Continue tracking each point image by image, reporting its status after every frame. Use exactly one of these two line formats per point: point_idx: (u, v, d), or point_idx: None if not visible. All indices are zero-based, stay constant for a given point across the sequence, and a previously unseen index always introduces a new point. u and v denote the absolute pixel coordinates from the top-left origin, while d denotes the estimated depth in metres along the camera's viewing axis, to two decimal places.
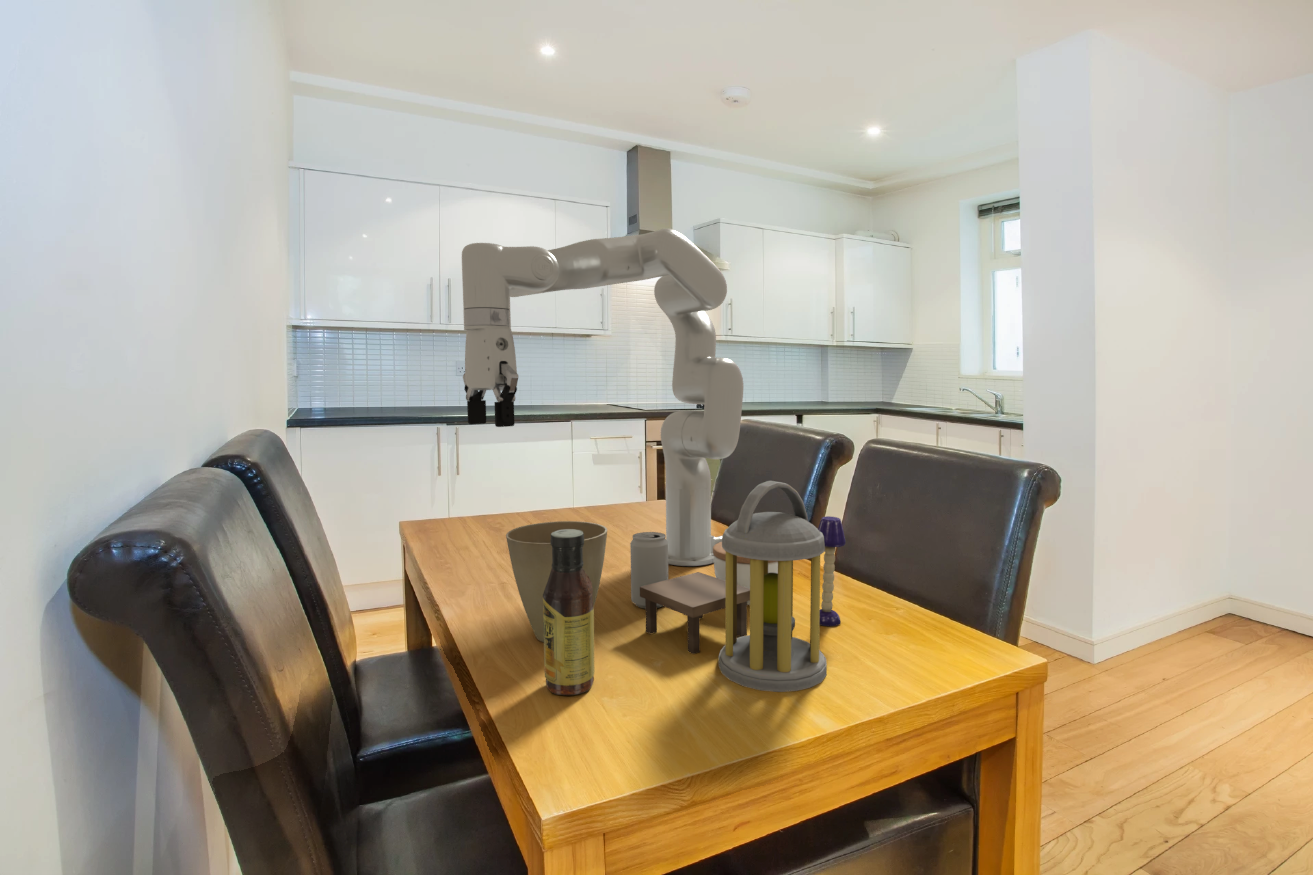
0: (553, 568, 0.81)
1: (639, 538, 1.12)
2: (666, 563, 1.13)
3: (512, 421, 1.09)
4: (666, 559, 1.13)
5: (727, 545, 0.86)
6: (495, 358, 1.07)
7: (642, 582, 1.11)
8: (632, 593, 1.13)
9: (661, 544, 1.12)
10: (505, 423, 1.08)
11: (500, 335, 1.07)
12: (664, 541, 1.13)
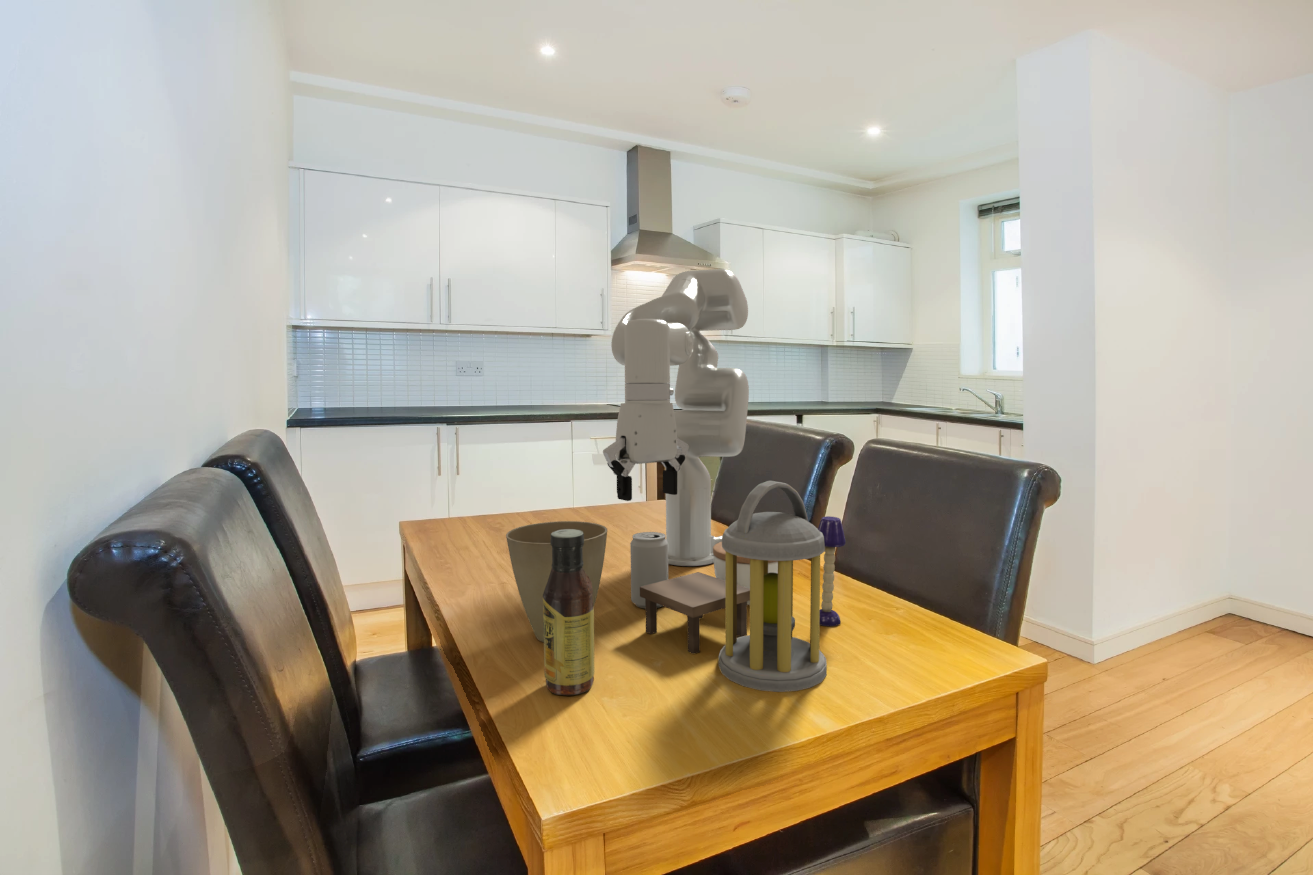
0: (553, 568, 0.81)
1: (639, 538, 1.12)
2: (666, 563, 1.13)
3: None
4: (666, 559, 1.13)
5: (727, 545, 0.86)
6: None
7: (642, 582, 1.11)
8: (632, 593, 1.13)
9: (661, 544, 1.12)
10: None
11: None
12: (664, 541, 1.13)
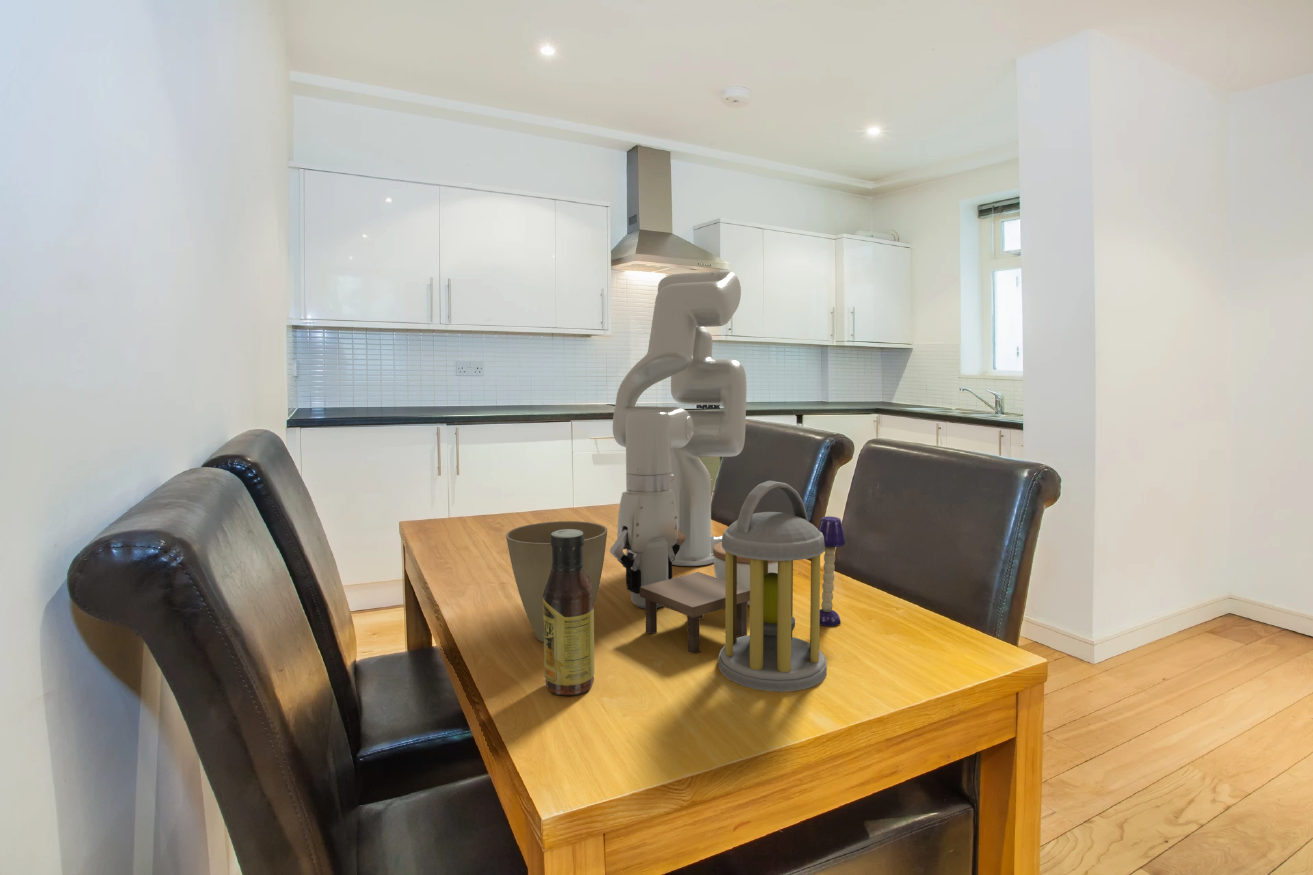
0: (553, 568, 0.81)
1: None
2: (666, 563, 1.13)
3: None
4: (666, 559, 1.13)
5: (727, 545, 0.86)
6: None
7: (642, 582, 1.11)
8: (632, 593, 1.13)
9: (661, 544, 1.12)
10: None
11: None
12: (664, 541, 1.13)
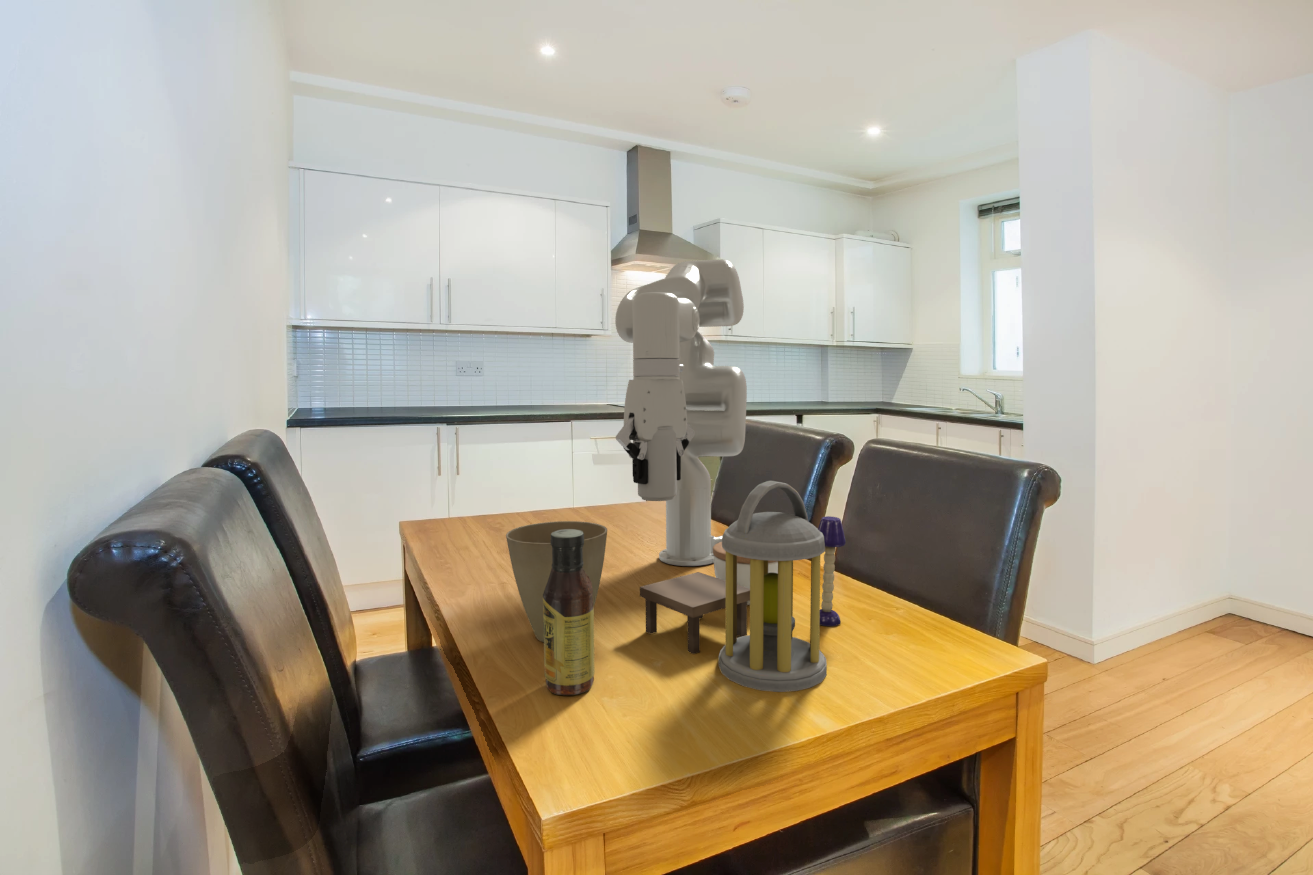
0: (553, 568, 0.81)
1: None
2: (674, 454, 1.08)
3: None
4: (674, 450, 1.08)
5: (727, 545, 0.86)
6: None
7: (649, 472, 1.07)
8: (639, 486, 1.09)
9: (669, 433, 1.07)
10: None
11: None
12: (672, 431, 1.08)
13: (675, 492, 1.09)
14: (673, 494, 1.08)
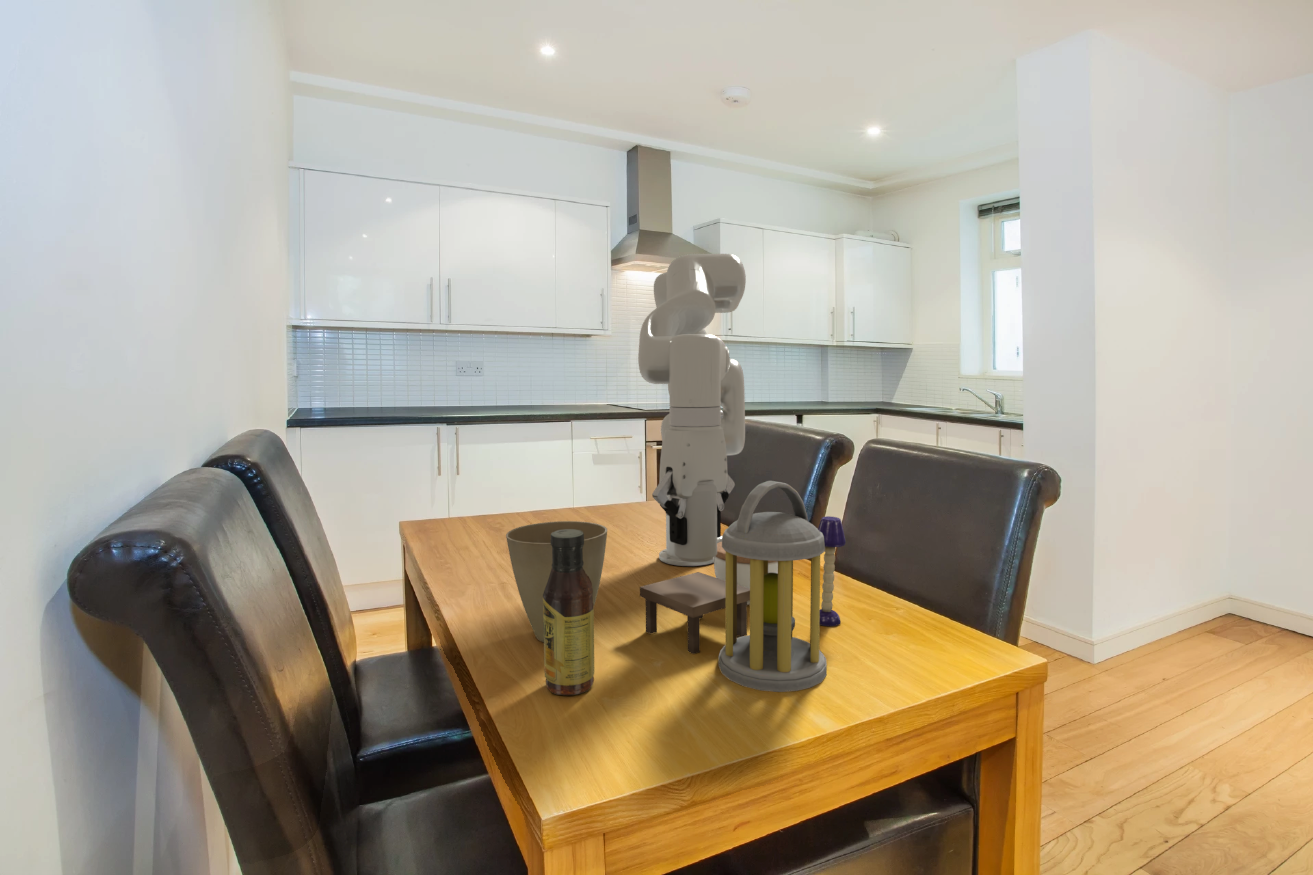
0: (553, 568, 0.81)
1: None
2: (715, 511, 0.98)
3: None
4: (715, 506, 0.98)
5: (727, 545, 0.86)
6: None
7: (689, 532, 0.97)
8: (676, 545, 0.99)
9: (710, 488, 0.97)
10: None
11: None
12: (713, 485, 0.98)
13: (716, 552, 0.99)
14: (714, 554, 0.99)
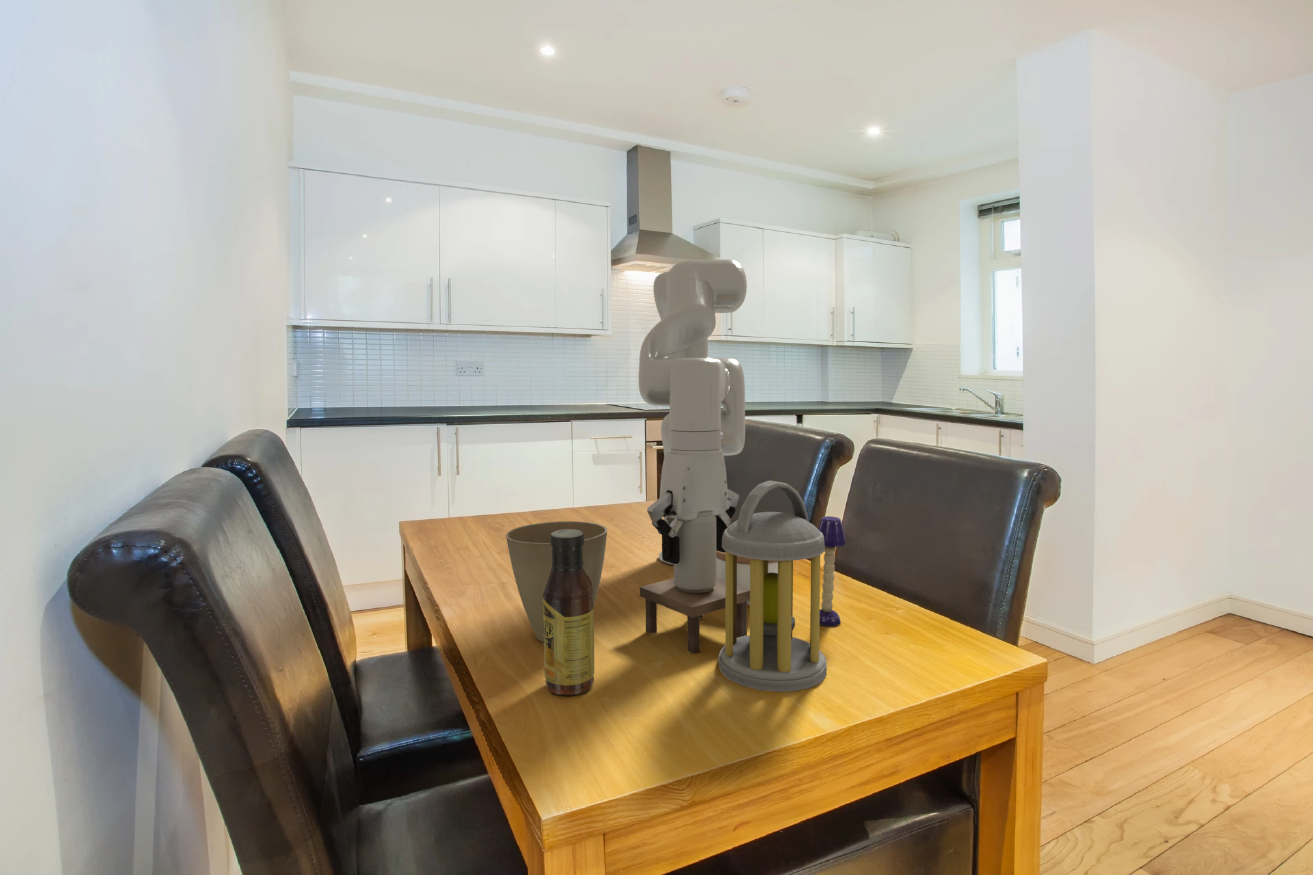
0: (553, 568, 0.81)
1: None
2: (715, 541, 0.99)
3: None
4: (715, 536, 0.99)
5: (727, 545, 0.86)
6: None
7: (689, 562, 0.97)
8: (676, 575, 0.99)
9: (710, 519, 0.98)
10: None
11: None
12: (712, 516, 0.99)
13: (715, 581, 1.00)
14: (714, 584, 0.99)
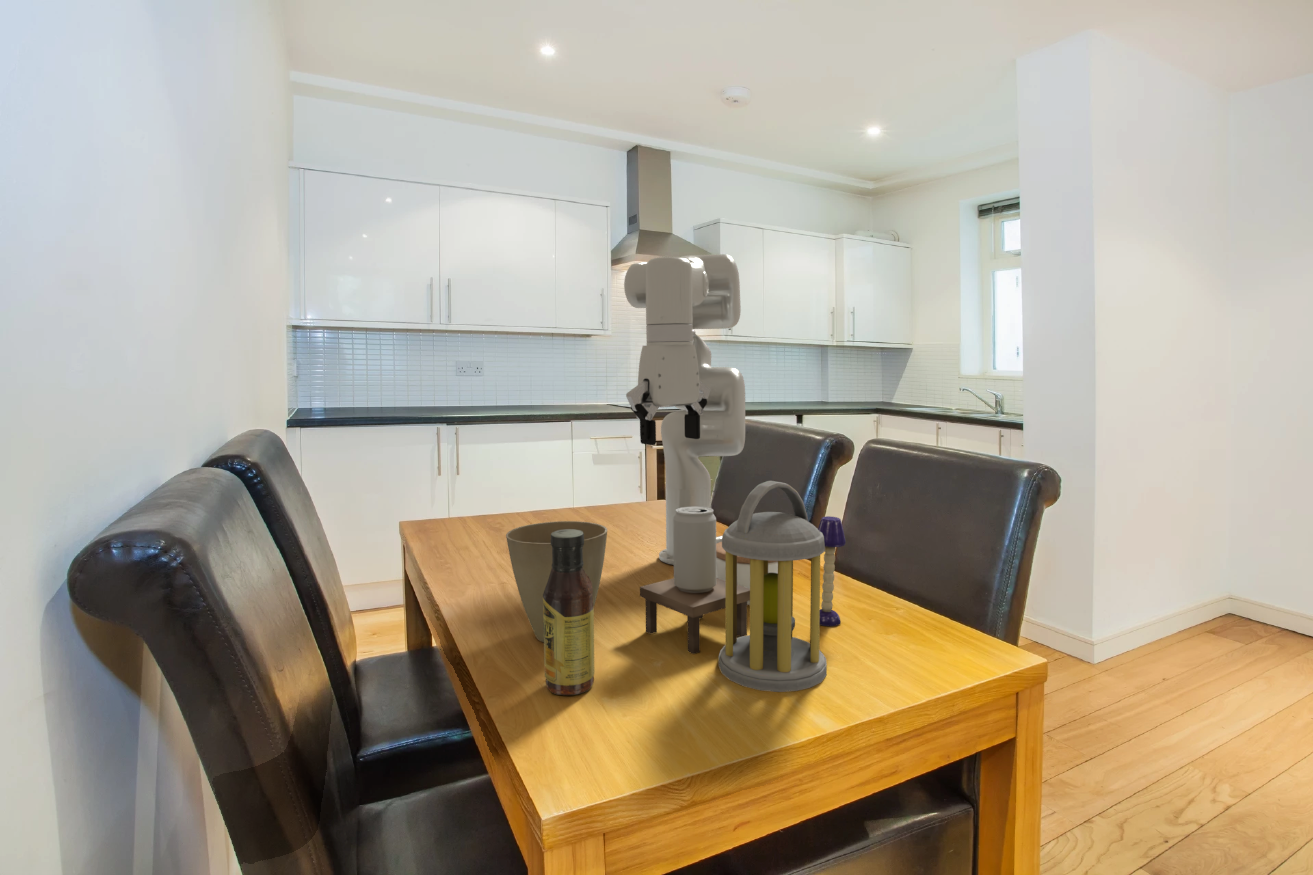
0: (553, 568, 0.81)
1: (684, 512, 0.98)
2: (715, 541, 0.99)
3: None
4: (715, 536, 0.99)
5: (727, 545, 0.86)
6: None
7: (688, 563, 0.97)
8: (676, 576, 0.99)
9: (710, 519, 0.98)
10: None
11: None
12: (712, 516, 0.99)
13: (715, 581, 1.00)
14: (714, 584, 0.99)
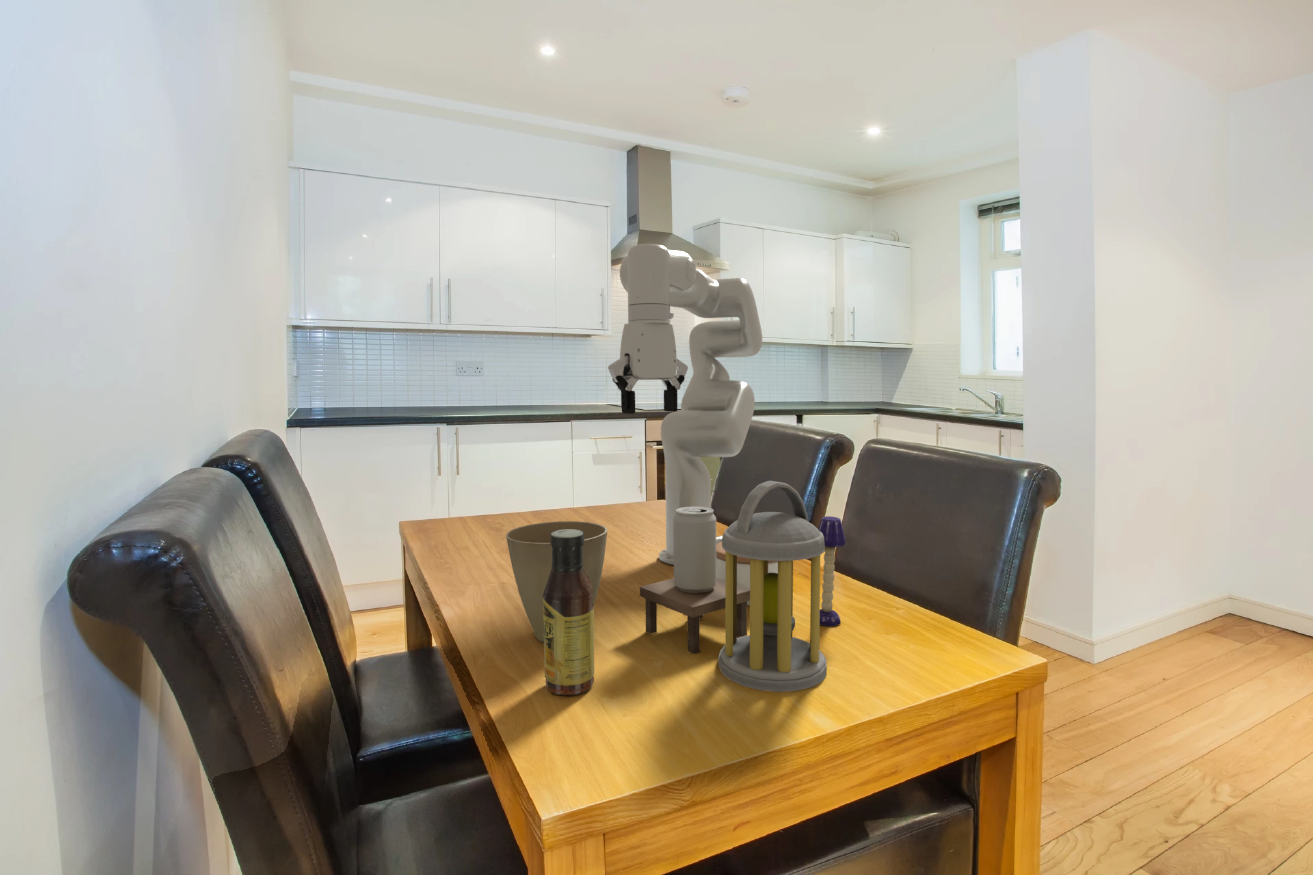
0: (553, 568, 0.81)
1: (684, 512, 0.98)
2: (715, 541, 0.99)
3: None
4: (715, 536, 0.99)
5: (727, 545, 0.86)
6: None
7: (688, 563, 0.97)
8: (676, 576, 0.99)
9: (710, 519, 0.98)
10: None
11: None
12: (712, 516, 0.99)
13: (715, 582, 1.00)
14: (714, 584, 0.99)
